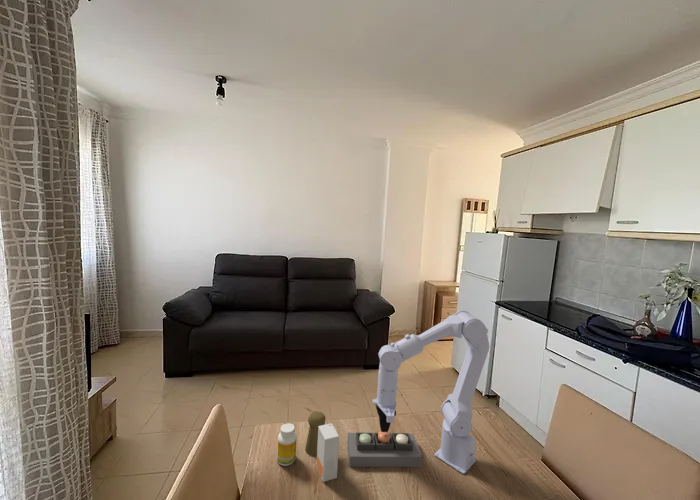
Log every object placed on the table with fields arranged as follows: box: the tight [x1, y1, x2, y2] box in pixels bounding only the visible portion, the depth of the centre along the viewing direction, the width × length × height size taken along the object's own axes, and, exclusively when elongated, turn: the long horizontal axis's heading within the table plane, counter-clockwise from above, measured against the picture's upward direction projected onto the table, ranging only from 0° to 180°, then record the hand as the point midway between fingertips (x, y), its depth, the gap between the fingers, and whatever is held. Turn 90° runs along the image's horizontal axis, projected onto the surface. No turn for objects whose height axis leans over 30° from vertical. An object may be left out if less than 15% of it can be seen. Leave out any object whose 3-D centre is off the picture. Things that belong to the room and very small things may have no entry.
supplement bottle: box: [276, 422, 298, 467], centre depth 86 cm, size 5×5×10 cm
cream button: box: [396, 434, 408, 444], centre depth 91 cm, size 4×4×2 cm
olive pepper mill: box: [304, 410, 326, 457], centre depth 91 cm, size 6×6×11 cm
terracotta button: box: [377, 430, 390, 444], centre depth 91 cm, size 4×4×2 cm
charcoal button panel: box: [346, 432, 423, 468], centre depth 91 cm, size 21×10×5 cm, turn 94°
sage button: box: [359, 434, 371, 443], centre depth 90 cm, size 4×4×2 cm
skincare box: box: [315, 422, 340, 483], centre depth 82 cm, size 6×4×12 cm
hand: (384, 430), depth 90 cm, fingers closed
